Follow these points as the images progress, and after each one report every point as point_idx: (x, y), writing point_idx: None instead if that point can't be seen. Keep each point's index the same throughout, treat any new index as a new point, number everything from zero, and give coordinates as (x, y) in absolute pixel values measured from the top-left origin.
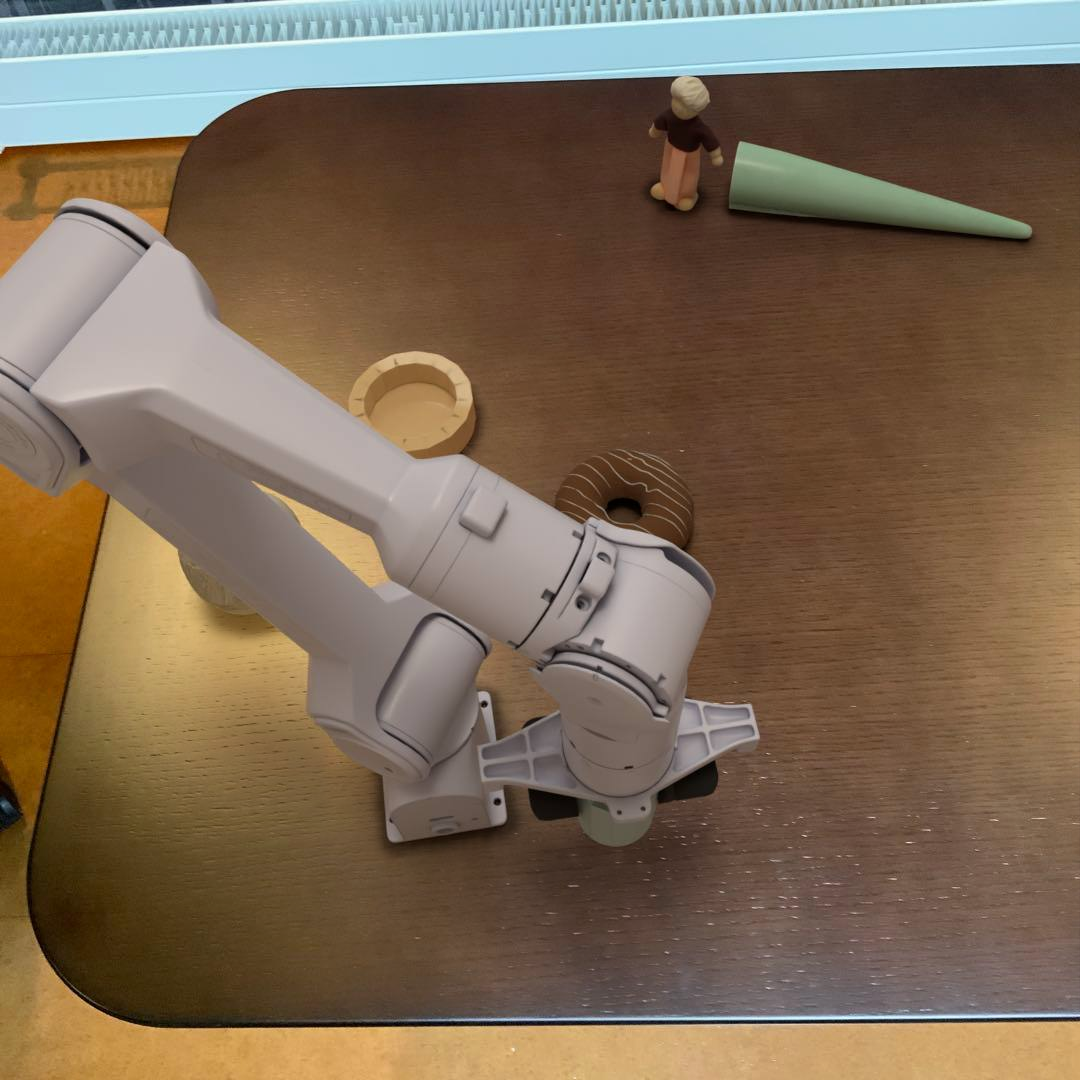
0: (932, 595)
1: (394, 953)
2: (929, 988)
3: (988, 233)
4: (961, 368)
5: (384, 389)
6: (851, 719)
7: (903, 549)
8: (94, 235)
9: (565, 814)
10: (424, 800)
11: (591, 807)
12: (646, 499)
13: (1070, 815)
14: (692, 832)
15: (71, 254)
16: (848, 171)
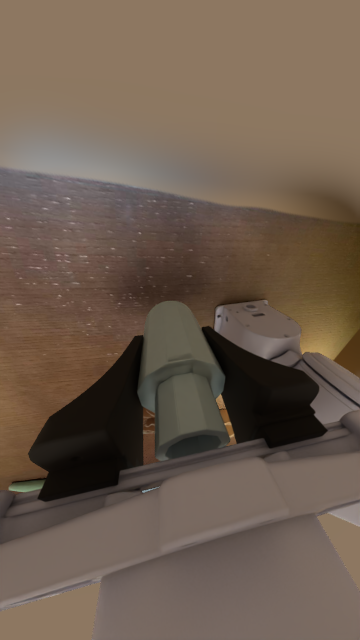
0: (14, 395)
1: (280, 247)
2: None
3: (26, 484)
4: (26, 454)
5: (226, 427)
6: (44, 349)
7: (34, 408)
8: None
9: (282, 389)
10: (290, 334)
11: (212, 358)
12: (146, 421)
13: None
14: (125, 299)
15: None
16: None
